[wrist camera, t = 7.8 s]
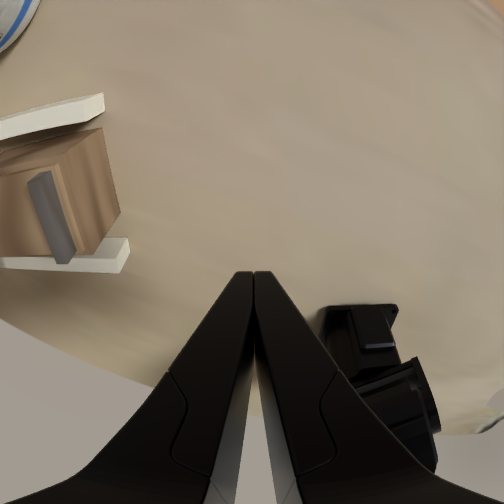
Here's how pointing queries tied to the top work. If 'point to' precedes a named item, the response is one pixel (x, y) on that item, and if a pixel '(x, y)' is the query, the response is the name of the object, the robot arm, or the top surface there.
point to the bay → (48, 116)
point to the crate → (56, 197)
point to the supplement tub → (14, 19)
